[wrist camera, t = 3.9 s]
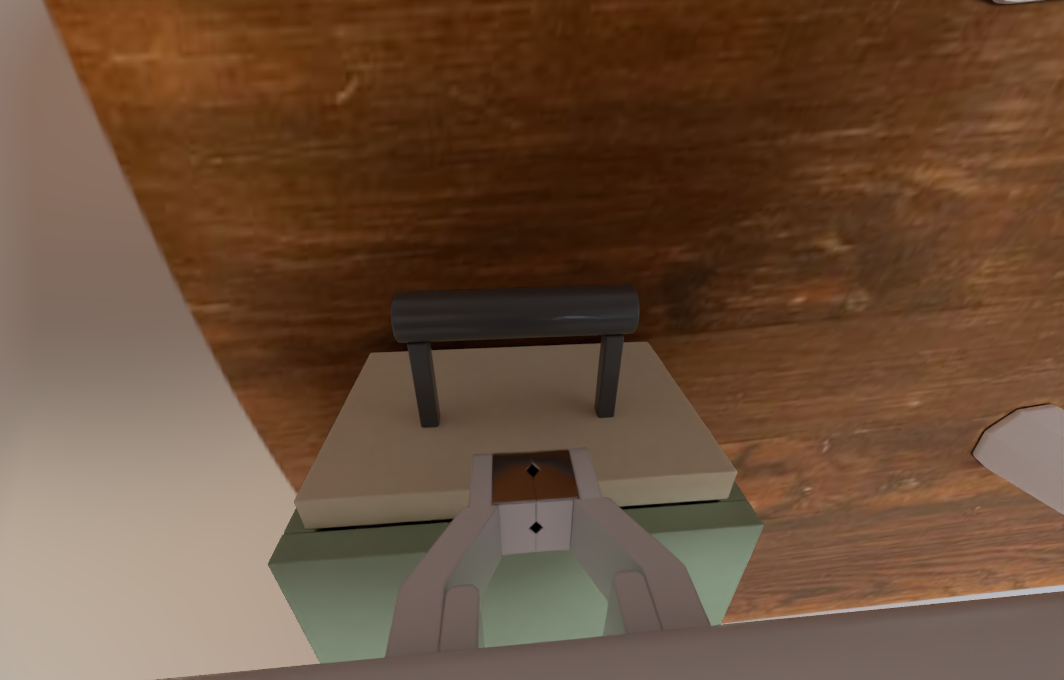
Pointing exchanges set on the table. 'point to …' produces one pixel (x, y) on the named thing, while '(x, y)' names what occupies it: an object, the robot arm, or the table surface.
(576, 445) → the drawer
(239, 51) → the table surface
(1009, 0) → the keychain
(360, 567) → the cabinet
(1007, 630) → the robot arm
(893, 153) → the table surface
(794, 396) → the table surface
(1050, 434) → the salt shaker
